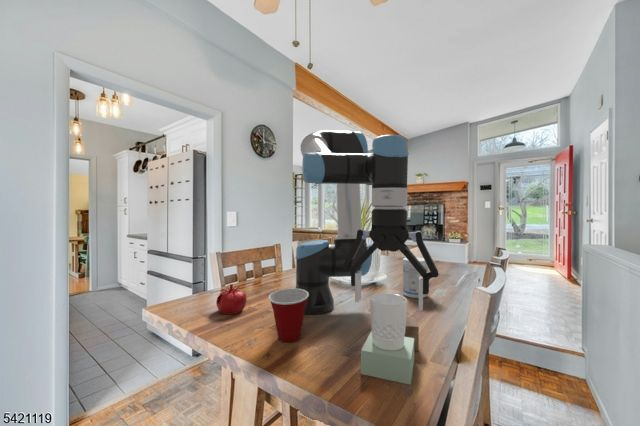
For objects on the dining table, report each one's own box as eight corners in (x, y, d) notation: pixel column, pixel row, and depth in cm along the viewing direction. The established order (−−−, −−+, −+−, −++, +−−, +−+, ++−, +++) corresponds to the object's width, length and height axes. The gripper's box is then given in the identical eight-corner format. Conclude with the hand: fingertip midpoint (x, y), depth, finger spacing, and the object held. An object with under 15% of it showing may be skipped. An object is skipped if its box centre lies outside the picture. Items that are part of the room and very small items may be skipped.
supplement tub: (419, 291, 120) (419, 256, 120) (432, 298, 111) (433, 260, 110) (398, 292, 118) (398, 257, 118) (410, 299, 109) (410, 261, 108)
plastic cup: (259, 342, 74) (259, 296, 74) (284, 326, 83) (283, 286, 83) (294, 351, 69) (294, 302, 69) (316, 334, 78) (316, 291, 78)
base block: (361, 373, 59) (361, 350, 59) (371, 351, 69) (370, 331, 69) (410, 384, 56) (410, 359, 56) (414, 359, 65) (414, 338, 65)
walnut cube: (393, 349, 70) (393, 325, 70) (390, 338, 76) (390, 316, 76) (418, 351, 69) (418, 326, 69) (413, 340, 75) (413, 317, 75)
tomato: (251, 307, 101) (251, 281, 101) (238, 317, 91) (239, 288, 91) (224, 305, 102) (225, 279, 102) (210, 315, 93) (210, 286, 93)
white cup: (362, 340, 64) (362, 296, 64) (389, 333, 68) (389, 291, 67) (386, 356, 57) (386, 306, 57) (414, 347, 61) (415, 300, 60)
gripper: (329, 208, 63) (329, 302, 64) (453, 209, 54) (451, 319, 54) (340, 207, 70) (339, 292, 71) (451, 208, 61) (449, 306, 61)
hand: (388, 304), depth 62 cm, fingers open, 13 cm apart
